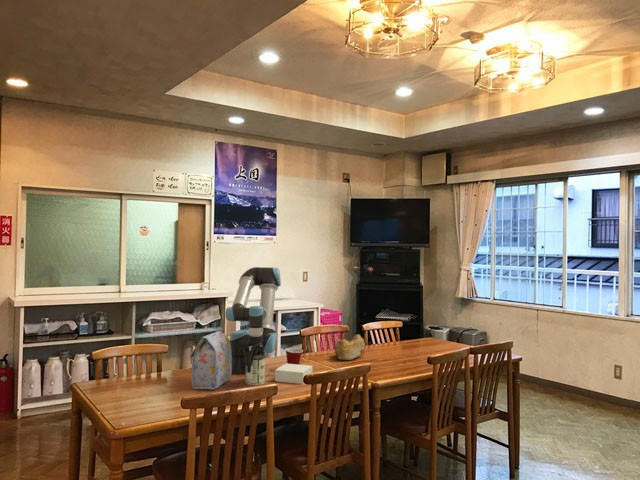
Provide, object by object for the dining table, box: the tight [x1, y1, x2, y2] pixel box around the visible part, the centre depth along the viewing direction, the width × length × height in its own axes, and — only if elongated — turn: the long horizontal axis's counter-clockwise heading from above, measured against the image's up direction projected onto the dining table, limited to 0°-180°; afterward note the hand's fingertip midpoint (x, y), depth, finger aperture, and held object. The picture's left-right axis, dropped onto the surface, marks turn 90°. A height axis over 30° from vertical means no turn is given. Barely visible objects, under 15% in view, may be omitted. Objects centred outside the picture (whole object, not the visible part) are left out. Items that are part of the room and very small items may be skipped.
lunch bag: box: [189, 330, 233, 391], centre depth 253 cm, size 22×17×26 cm
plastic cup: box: [284, 347, 304, 365], centre depth 286 cm, size 11×11×12 cm
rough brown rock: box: [334, 333, 366, 361], centre depth 321 cm, size 23×17×15 cm
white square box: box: [274, 363, 313, 385], centre depth 266 cm, size 16×16×6 cm
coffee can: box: [244, 354, 266, 386], centre depth 257 cm, size 10×10×14 cm
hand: (255, 375), depth 257 cm, fingers open, 13 cm apart
